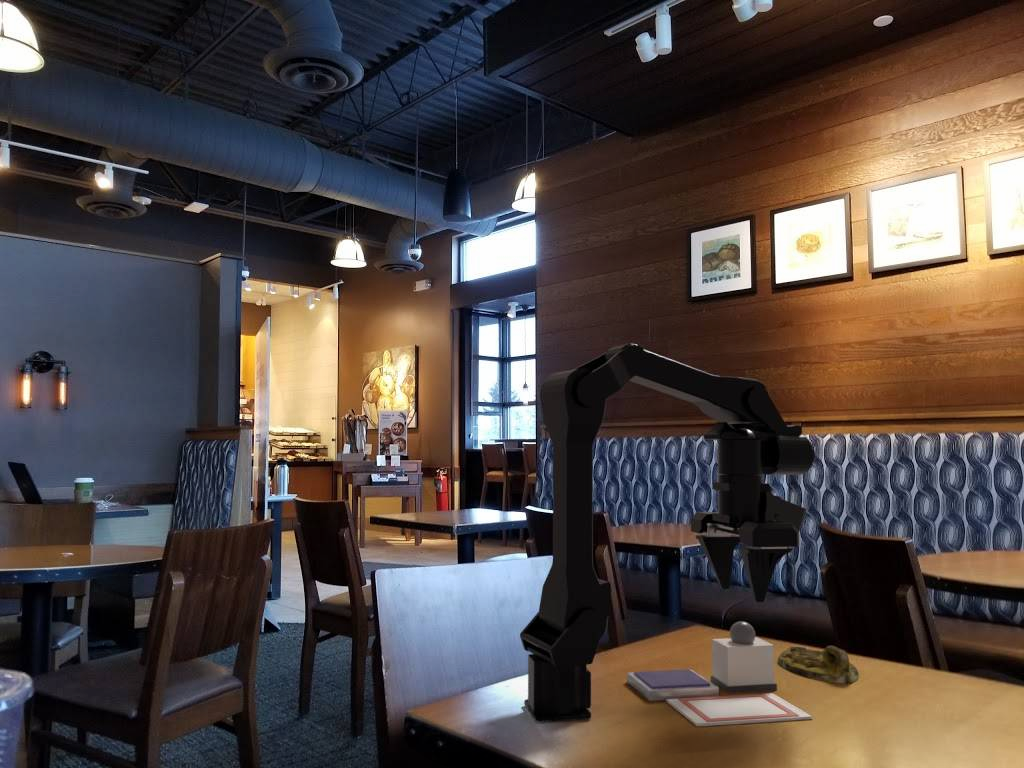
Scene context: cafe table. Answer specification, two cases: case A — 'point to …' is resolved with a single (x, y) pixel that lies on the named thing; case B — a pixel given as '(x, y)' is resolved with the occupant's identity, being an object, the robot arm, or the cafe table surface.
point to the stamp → (743, 661)
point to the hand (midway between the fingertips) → (741, 595)
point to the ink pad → (671, 684)
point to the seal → (820, 664)
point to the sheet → (737, 709)
